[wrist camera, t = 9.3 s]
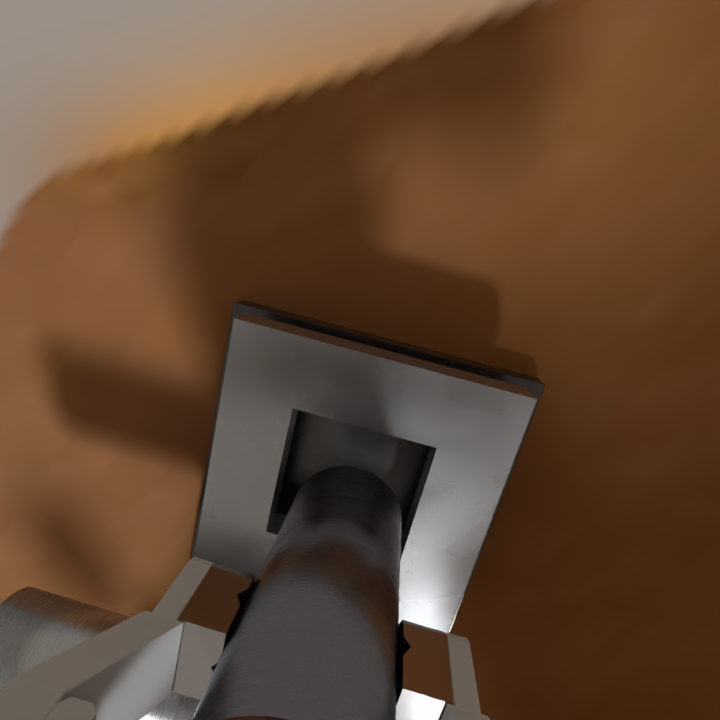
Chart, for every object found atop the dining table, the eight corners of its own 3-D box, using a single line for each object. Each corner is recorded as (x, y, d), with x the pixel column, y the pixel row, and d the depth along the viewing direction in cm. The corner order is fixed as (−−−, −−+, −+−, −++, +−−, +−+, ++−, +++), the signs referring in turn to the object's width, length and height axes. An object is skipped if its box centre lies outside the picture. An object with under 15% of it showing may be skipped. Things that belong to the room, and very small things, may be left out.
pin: (414, 483, 13) (422, 838, 5) (386, 575, 14) (354, 995, 6) (305, 453, 13) (150, 750, 5) (284, 545, 14) (124, 917, 6)
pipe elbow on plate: (538, 378, 16) (1430, 1232, 2) (423, 684, 21) (456, 1668, 6) (147, 275, 17) (-1179, 379, 3) (112, 590, 21) (-493, 1279, 7)
